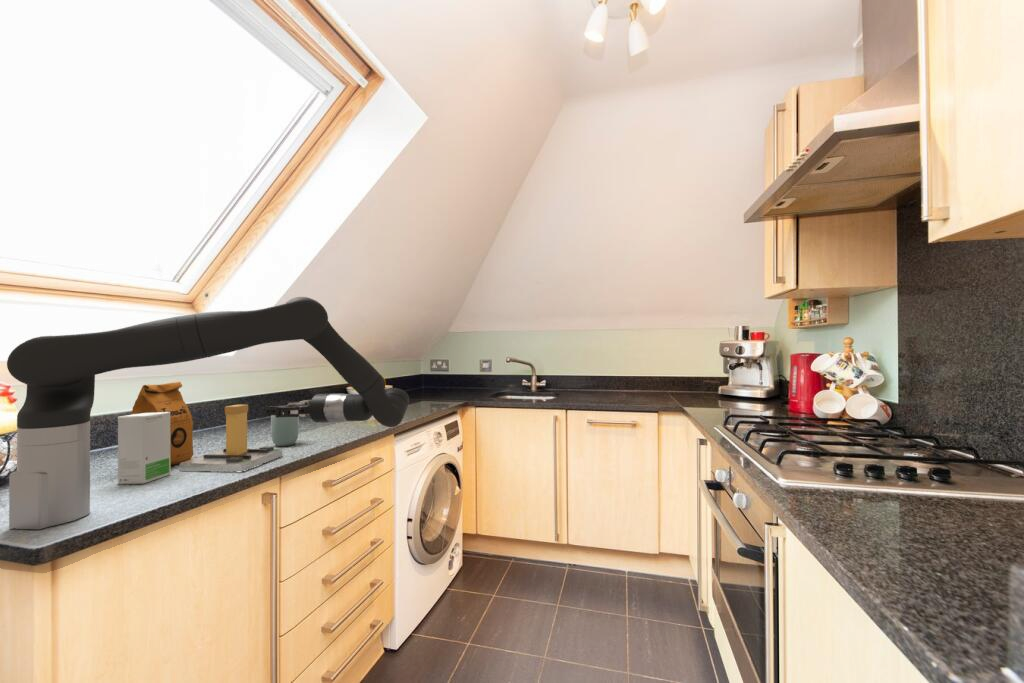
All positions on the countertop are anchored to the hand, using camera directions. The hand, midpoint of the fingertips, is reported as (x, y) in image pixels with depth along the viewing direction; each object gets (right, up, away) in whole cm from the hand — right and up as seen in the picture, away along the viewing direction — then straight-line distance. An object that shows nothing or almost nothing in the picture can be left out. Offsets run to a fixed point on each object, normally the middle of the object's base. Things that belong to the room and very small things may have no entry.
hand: (276, 408), depth 118 cm
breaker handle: (-11, -12, +1) cm, 17 cm away
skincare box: (-24, -15, -14) cm, 31 cm away
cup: (-9, -15, +22) cm, 28 cm away
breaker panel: (-11, -15, 0) cm, 19 cm away
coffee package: (-29, -15, -1) cm, 33 cm away
